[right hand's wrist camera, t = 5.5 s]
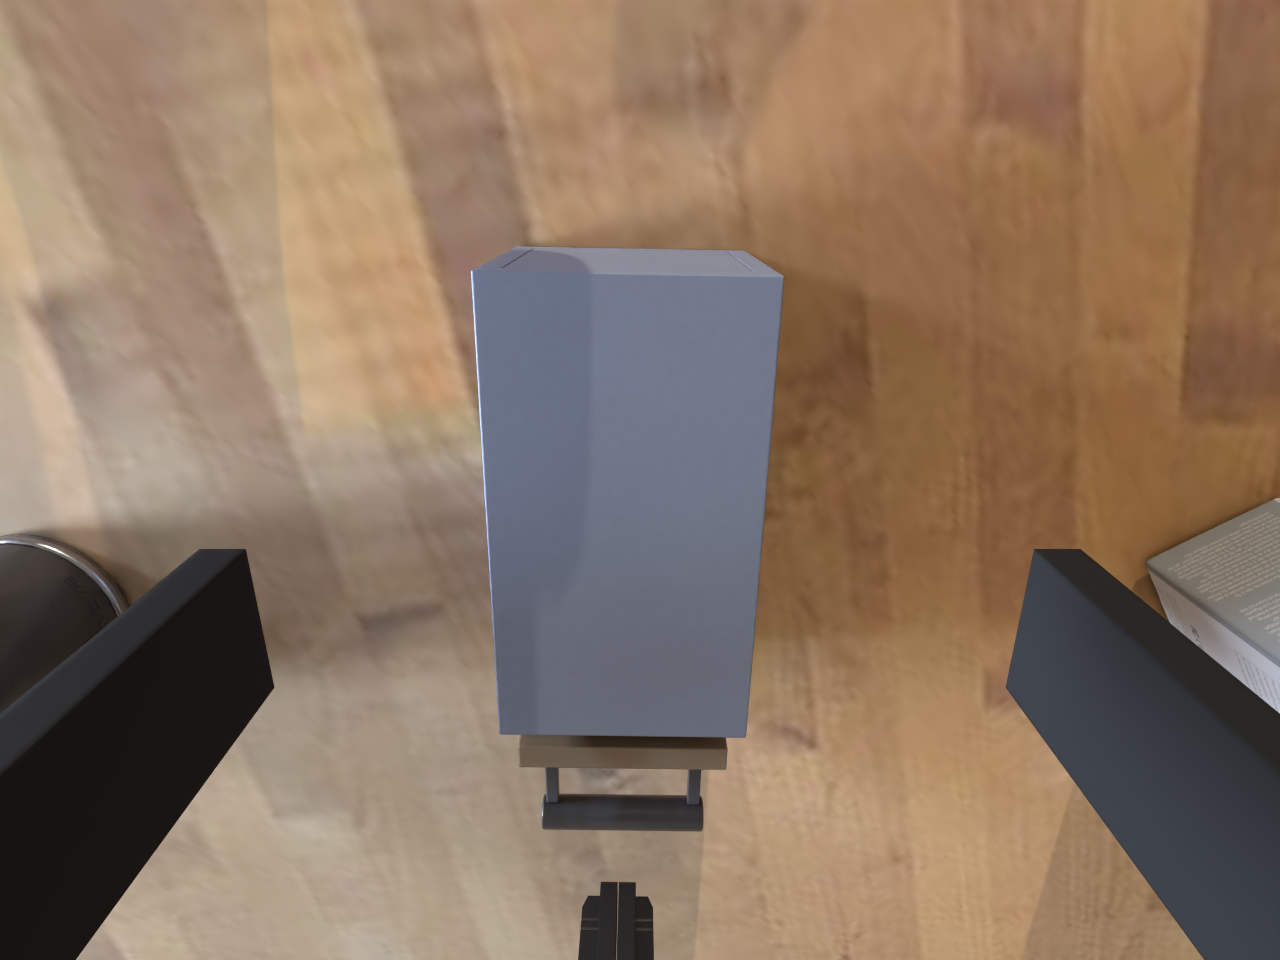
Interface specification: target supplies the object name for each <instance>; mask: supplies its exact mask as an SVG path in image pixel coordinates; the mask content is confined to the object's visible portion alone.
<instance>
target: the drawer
mask: <svg viewBox="0 0 1280 960" xmlns="http://www.w3.org/2000/svg"><path fill="white" fill-rule="evenodd" d="M727 750H728V749H727V743H726V737H660V736H588V735H521V736H520V740H519V745H518V755H519V766H520V767H545V771H546V794H545V795H544V798H543V806H542V828H543V829H548V830H625V831H702V829H703V801H702V797H701V796H700V781H701V769H704V770H725V769H726V764H727ZM559 768H630V769H688V782H687V795H613V794H559Z"/></svg>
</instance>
